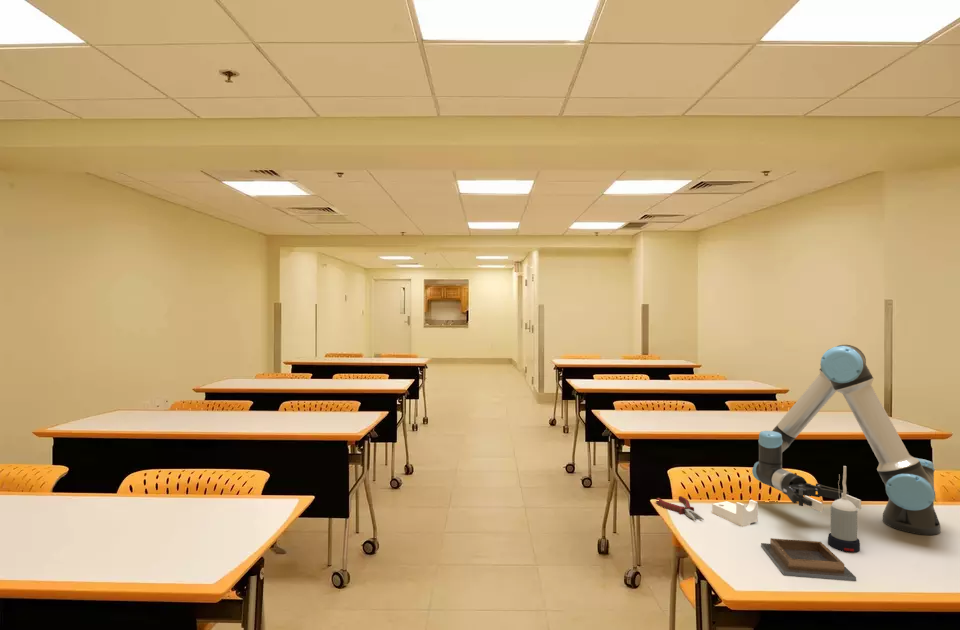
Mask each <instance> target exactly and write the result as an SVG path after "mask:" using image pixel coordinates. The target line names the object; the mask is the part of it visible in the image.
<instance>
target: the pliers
mask: <svg viewBox="0 0 960 630" xmlns="http://www.w3.org/2000/svg"><path fill="white" fill-rule="evenodd" d="M656 500H659V501H656ZM678 501H679V502H680V503H682V504H683V505H685V506H682V505H678V504H675V503H671V502H669V501H665V500H663V499H662V498H660V497H656V499H655V503H656V504H657V505H658V506H659V507H662V508H664V509H667V510H669V511H673V512H676V513H679V515H686V516H687V517H688V518H690V519H692V520H693V521H697V519H698V520H702V521H705V519H704V518H703V517H702V516H701V515H700V514H698V513H697V512H696V511H695V507H694V506H691V504H690V501H689V500H688V499H687V498H685V497H683V496H681V495H680V496H678Z"/></svg>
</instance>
